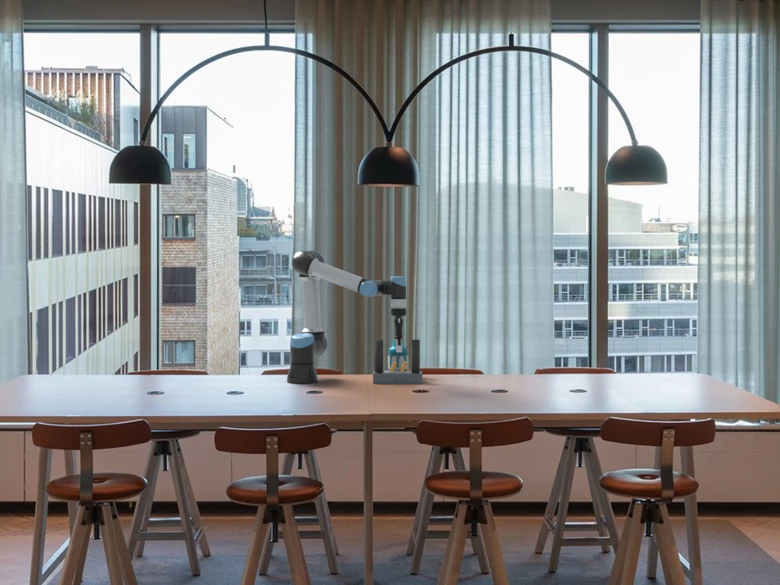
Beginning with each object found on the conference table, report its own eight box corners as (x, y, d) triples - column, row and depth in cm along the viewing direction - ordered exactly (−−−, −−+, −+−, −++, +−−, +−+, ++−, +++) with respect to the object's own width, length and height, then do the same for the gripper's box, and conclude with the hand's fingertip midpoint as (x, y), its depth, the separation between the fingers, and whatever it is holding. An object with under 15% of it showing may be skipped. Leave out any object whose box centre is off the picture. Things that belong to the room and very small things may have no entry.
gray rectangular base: (373, 383, 462) (373, 372, 462) (372, 380, 472) (373, 370, 472) (422, 383, 463) (422, 372, 463) (421, 380, 473) (421, 370, 473)
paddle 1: (390, 370, 466) (394, 361, 466) (390, 369, 469) (394, 361, 469) (393, 371, 466) (397, 363, 466) (393, 370, 469) (397, 362, 469)
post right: (411, 372, 466) (411, 340, 465) (411, 371, 470) (411, 339, 469) (419, 372, 466) (420, 340, 465) (419, 371, 470) (419, 339, 469)
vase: (384, 376, 490) (384, 339, 489) (402, 374, 495) (403, 338, 494) (393, 378, 481) (393, 340, 480) (411, 377, 485) (412, 340, 484)
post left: (375, 372, 465) (375, 340, 464) (375, 371, 469) (375, 339, 468) (383, 372, 465) (383, 340, 464) (383, 371, 469) (383, 339, 468)
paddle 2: (400, 369, 466) (404, 361, 466) (400, 369, 469) (404, 361, 469) (403, 371, 466) (407, 363, 466) (403, 370, 469) (407, 362, 469)
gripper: (407, 309, 453) (407, 353, 454) (405, 306, 478) (405, 347, 479) (391, 309, 453) (391, 353, 454) (390, 306, 478) (390, 348, 479)
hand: (398, 350), depth 467 cm, fingers open, 13 cm apart
